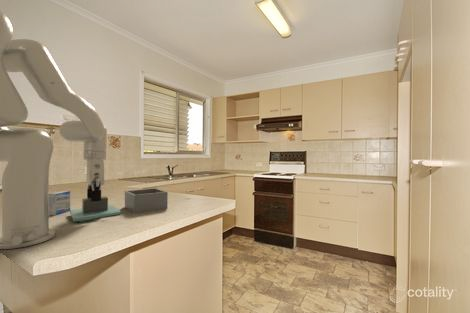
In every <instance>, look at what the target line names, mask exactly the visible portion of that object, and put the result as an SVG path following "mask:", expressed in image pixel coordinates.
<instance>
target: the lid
mask: <svg viewBox="0 0 470 313" xmlns="http://www.w3.org/2000/svg"><path fill="white" fill-rule="evenodd" d="M81 201H82V206H81V207H82V208H78V209H70V211H69V214H70V216H71V219H72V220H73V222H78V223H81V222H88V221H89V222H90V221H95V220H99V219H100V218H104V217H110V216H111V217H112V216H116V215H117V216H118V215H121V214H122V211H121V210H120V209H119V208H117V207H116V206H115V205H113V204H109V197H107V196H101V201H93V202H92V201H91V198H87V197H86V198H82V199H81Z"/></svg>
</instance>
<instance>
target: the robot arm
mask: <svg viewBox="0 0 470 313" xmlns="http://www.w3.org/2000/svg"><path fill="white" fill-rule="evenodd" d="M13 29H14V28H13V26H12V23H11V21H10V19H9V18H8V16H7V15H6V14H5V13H3V12H2V11H1V10H0V162H4V163H6V162H7V164H6V165H5V168H4V171H3V172H2V178H1V237H0V250H9V249H11V250H13V249H18V248H19V249H21V248H25V247H29V246H33V245H34V246H35V245H38V244H40V243H43V242H47V241H49V240H51V239H53V238H54V237H55V236H56V230H55V229H52V228H50V226H49V225H50V221H49V219H50V215H49V194H50V192H49V190H50V183H49V181H50V180H49V178H50V177H49V176H50V164H51V160H52V156H53V153H54V142H53V138H51V136H50V135H49V134H48V133H47V132H46V131H43V130H41V129H38V128H32V127H12V126H16V125H20V124H23V123H24V122H25V121H26V120H27V119H28V117H29V111H28V108H27V106H26V104H25V102H24V100H23V98H22V96H21V95H20V93H19V91H18V89H17V88H16V85H15V84H14V82H13V81H12V79H11V77H10V75H9V74H8V73H22V74H23V75H24V77H25V78H26V80H27V81H28V82H29V84H30V85H31V87H32V88H33V90H34V92H36V95H38V97H39V98H40V99H41V100H42V101H44V102H46V103H48V104H50V105H53V106H55V107H58V108H61V109H63V110H66V111H67V112H69V113H71V114H73V115H74V116H75V117H77V118H78V119H79V120H68V121H65V122H63V123H62V124H60V126H59V129H58V130H59V131H58V132H59V135H60V136H61V137H62V138H63V139H64V140H66V141H69V142H75V143H76V142H83V159H82V160H84V161H85V160H86V184H87V188H86V189H87V190H86V191H87V192H86V195H87V196H86V198H91V201H92V202H93V201H101V197H102V185H104V184H105V161H106V160H107V138H108V137H107V134H108V133H107V130H108V129H107V127H106V126H104V123H103V121H102V119H101V117H100V115H99V113H98V112H97V110H96V109H95V107H93V106H92V105H91V104H90V102H88V101H86V100H85V99H84V98H82V97H81V96H80V95H78V93H75V92H74V91H73V90H72V89H71V87H70V86H69V85H68V83H67V81H66V80H65V77H64V76H63V74H62V73H61V71H60V69H59V67H58V66H57V64H56V63H55V61H54V59H53V57H52V55H51V54H50V51H49V50H48V48H46V46H45V45H43V44H42V43H41V42H39V41H36V40H35V39H34V40H33V39H26V38H21V39H20V38H19V39H16V38H15V39H13V36H14V30H13ZM9 126H11V128H10V127H9Z"/></svg>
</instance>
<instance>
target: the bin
mask: <svg viewBox="0 0 470 313" xmlns="http://www.w3.org/2000/svg"><path fill="white" fill-rule="evenodd" d="M168 194H169V193H168V191H166V190H163V189H161V188H152V187H151V188H143V189H133V190H125V191H124V208H125V209H126V210H129V212H131V213H133V214H139V213H140V214H141V213H145V212H151V211H158V210H163V209H168Z"/></svg>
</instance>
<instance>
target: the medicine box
mask: <svg viewBox="0 0 470 313" xmlns="http://www.w3.org/2000/svg"><path fill="white" fill-rule="evenodd" d="M70 210H71V191H70V190H60V191H55V192H51V193H50V192H49V216H58V215H62V214H64V213H67V212H70Z"/></svg>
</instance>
